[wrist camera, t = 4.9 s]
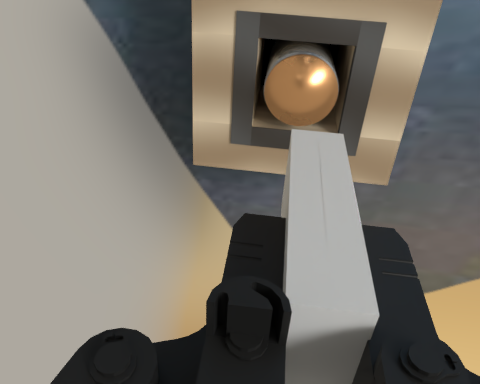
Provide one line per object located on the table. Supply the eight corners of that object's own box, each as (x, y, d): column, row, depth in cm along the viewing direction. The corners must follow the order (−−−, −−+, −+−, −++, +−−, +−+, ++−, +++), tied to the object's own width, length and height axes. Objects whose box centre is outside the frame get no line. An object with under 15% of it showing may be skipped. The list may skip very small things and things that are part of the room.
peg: (273, 23, 27) (266, 51, 21) (335, 28, 26) (345, 58, 21) (267, 83, 29) (260, 123, 23) (325, 89, 29) (331, 130, 23)
